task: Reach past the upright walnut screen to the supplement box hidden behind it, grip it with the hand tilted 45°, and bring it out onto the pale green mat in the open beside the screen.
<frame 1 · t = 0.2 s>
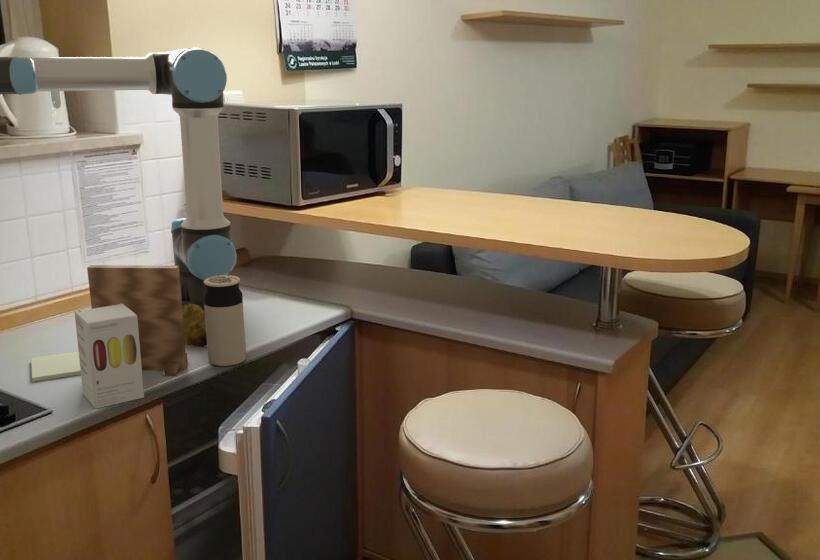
screen: (143, 368, 165), on the counter
potato: (195, 342, 181), on the counter
travel mug: (227, 361, 170), on the counter
supplement box: (113, 396, 152), on the counter
mat: (58, 367, 166), on the counter
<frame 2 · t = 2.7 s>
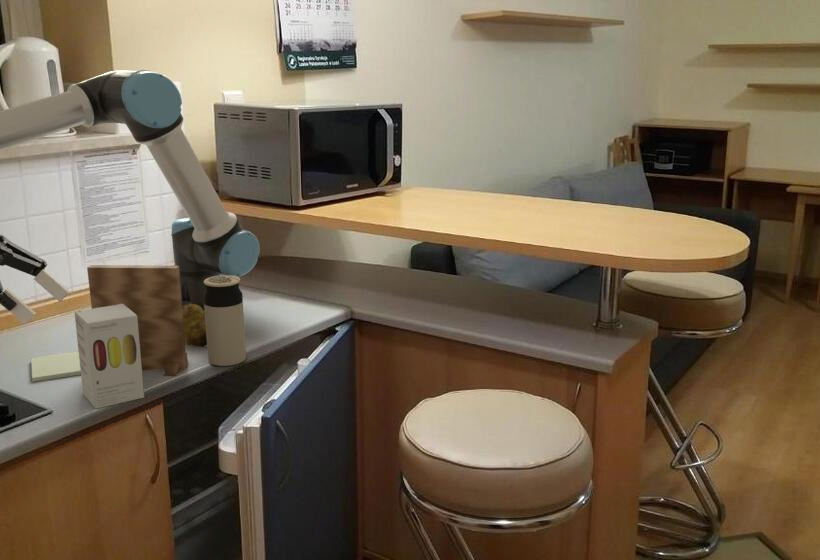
hand: (48, 307, 147), 18 cm above the counter, tool tilted 45°, fingers open, 13 cm apart
nothing on the counter moved.
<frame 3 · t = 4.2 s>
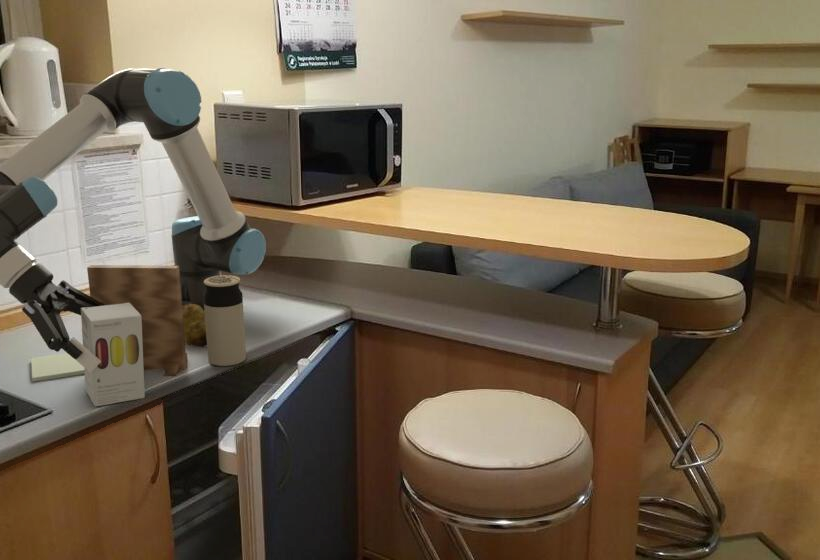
hand: (111, 353, 149), 9 cm above the counter, tool tilted 45°, fingers open, 13 cm apart
supplement box: (115, 394, 152), on the counter, touching gripper
everything else where it was.
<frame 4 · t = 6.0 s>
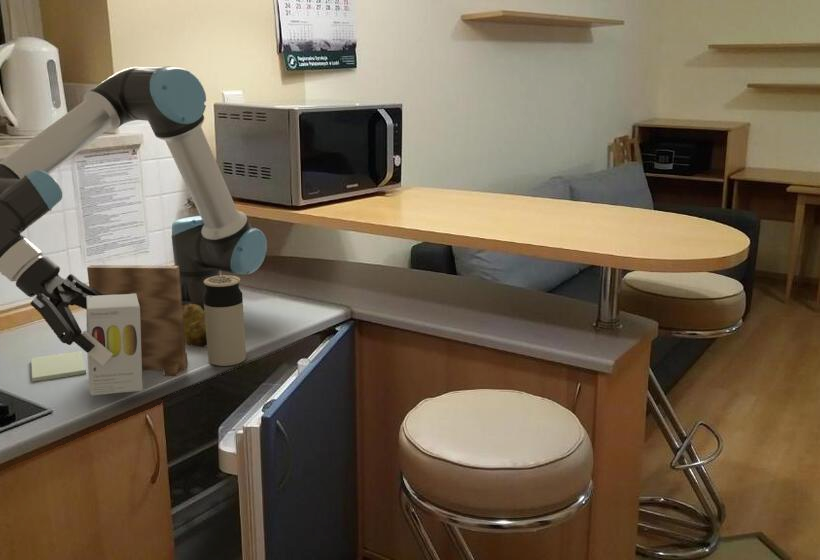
hand: (121, 347, 149), 10 cm above the counter, tool tilted 45°, fingers closed on supplement box, 12 cm apart
supplement box: (116, 385, 151), point 2 cm above the counter, touching gripper
everything else where it was.
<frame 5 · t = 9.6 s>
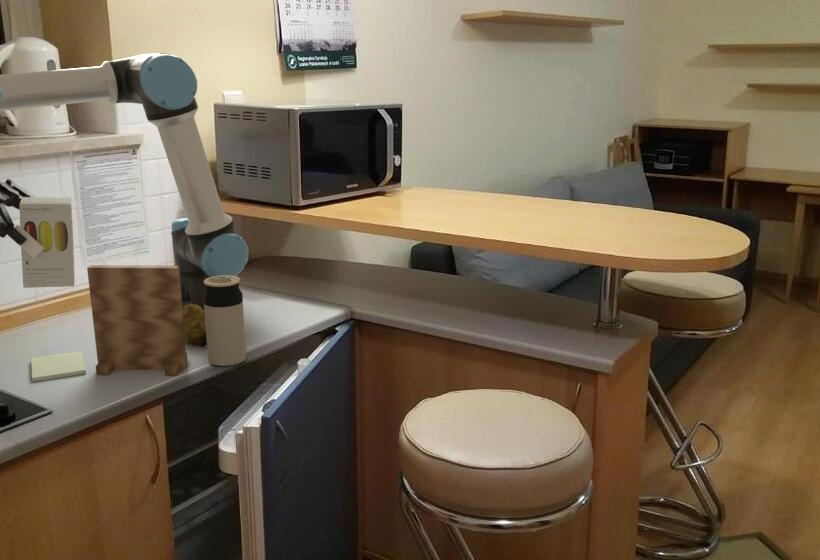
hand: (54, 246, 158), 26 cm above the counter, tool tilted 45°, fingers closed on supplement box, 12 cm apart
supplement box: (50, 283, 160), point 19 cm above the counter, touching gripper
everything else where it was.
when the fingers open (9 cm above the counter, at t = 13.2 s): supplement box drops 1 cm, resting on mat.
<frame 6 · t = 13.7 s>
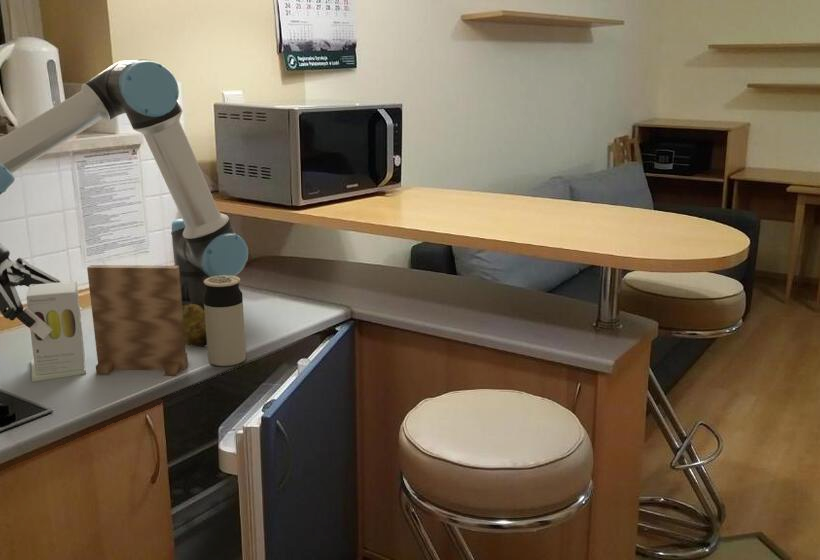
hand: (63, 323, 163), 10 cm above the counter, tool tilted 45°, fingers open, 13 cm apart
supplement box: (61, 365, 165), point 1 cm above the counter, touching mat
everything else where it was.
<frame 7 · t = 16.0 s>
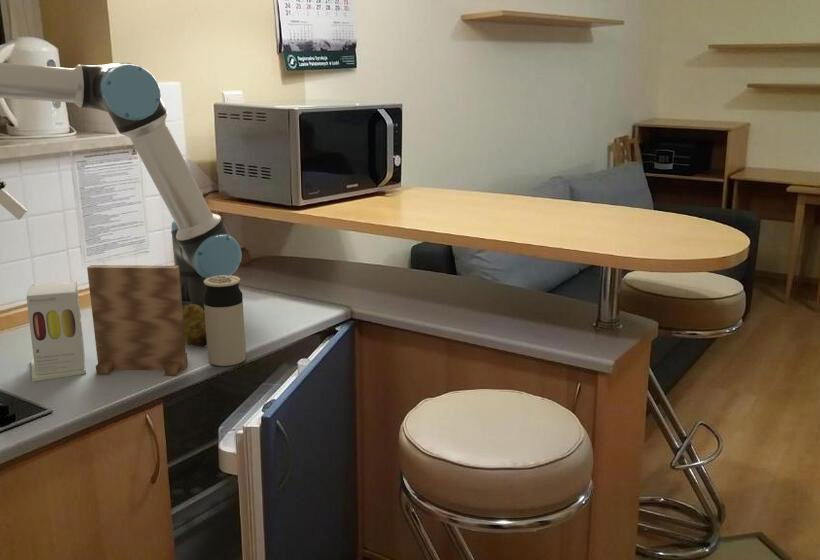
hand: (6, 221, 158), 31 cm above the counter, tool tilted 45°, fingers open, 13 cm apart
nothing on the counter moved.
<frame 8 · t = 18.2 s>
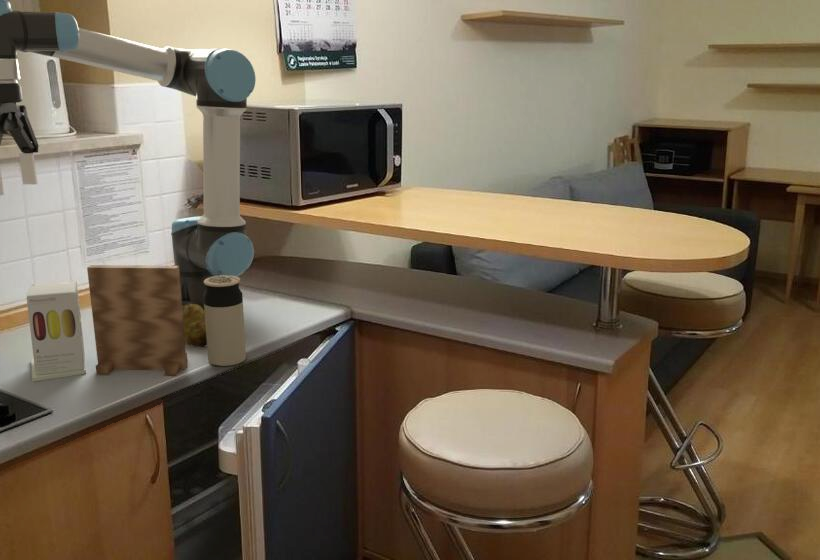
hand: (13, 189, 161), 37 cm above the counter, tool pointing down, fingers open, 13 cm apart
nothing on the counter moved.
at the end: supplement box inside the target area on the mat (1.1 cm from its centre), point 0.6 cm above the mat's base; supplement box tilted 0°; the gripper is holding nothing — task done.
